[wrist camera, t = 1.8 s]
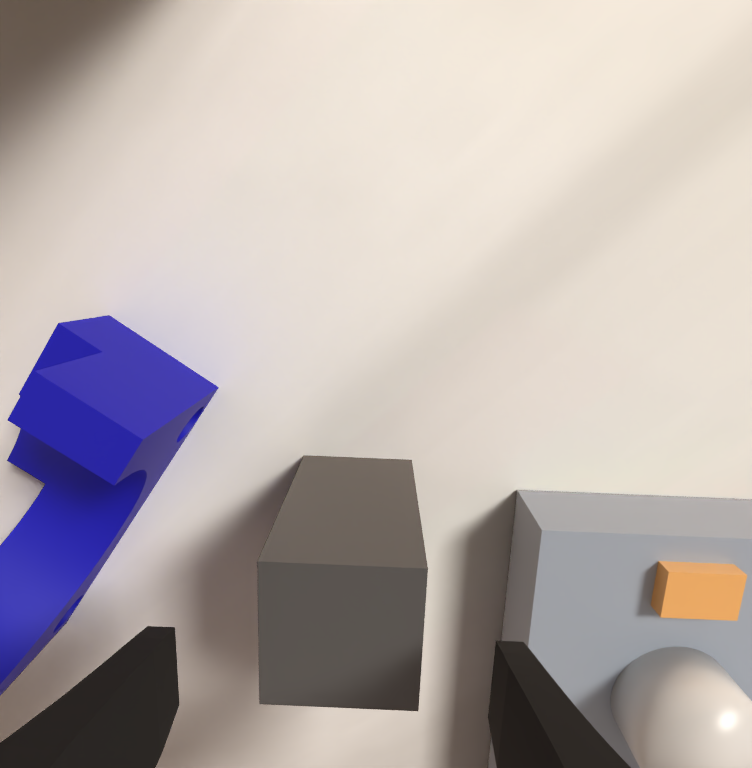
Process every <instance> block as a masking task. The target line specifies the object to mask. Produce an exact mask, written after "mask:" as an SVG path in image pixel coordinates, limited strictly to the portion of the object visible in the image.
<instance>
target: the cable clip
mask: <svg viewBox="0 0 752 768" xmlns="http://www.w3.org/2000/svg"><path fill="white" fill-rule="evenodd" d="M218 388H219V387H217V386H216V385H214V384H213V383H211V382H209V381H208V380H206V379H205V378H203V377H202V376H200V375H199V374H197V373H196V372H194V371H193V370H191V369H190V368H188V367H187V366H185V365H184V364H182V363H181V362H179V361H178V360H176V359H175V358H173V357H172V356H170V355H168V354H167V353H165V352H164V351H162V350H161V349H159V348H158V347H156V346H155V345H153V344H152V343H150V342H149V341H147V340H146V339H144V338H143V337H141V336H140V335H138V334H137V333H135V332H134V331H132V330H131V329H129V328H127V327H126V326H124V325H123V324H121V323H120V322H118V321H117V320H115V319H114V318H112V317H111V316H102V317H96V318H89V319H83V320H76V321H70V322H63V323H58V325H57V327H56V328H55V330H54V332H53V334H52V336H51V337H50V339H49V341H48V343H47V345H46V346H45V348H44V350H43V352H42V354H41V355H40V357H39V359H38V361H37V363H36V364H35V366H34V368H33V370H32V372H31V373H30V375H29V377H28V379H27V381H26V382H25V384H24V386H23V388H22V390H21V391H20V393H19V395H20V399H19V400H18V402H17V404H16V406H15V408H14V409H13V411H12V413H11V415H10V417H9V418H8V421H10V422H12V423H13V424H15V425H16V426H18V427H20V428H21V430H20V433H19V436H18V439H17V441H16V444H15V446H14V448H13V450H12V452H11V454H10V456H9V458H8V460H7V461H9V462H10V463H12V464H14V465H15V466H17V467H19V468H20V469H22V470H24V471H25V472H27V473H29V474H30V475H32V476H34V477H35V478H37V479H39V480H40V481H42V482H44V483H45V486H44V487H43V489H42V490H41V492H40V494H39V495H38V497H37V498H36V500H35V501H34V503H33V504H32V505H31V507H30V508H29V510H28V511H27V512H26V514H25V515H24V516H23V518H22V519H21V521H20V522H19V523H18V524H17V526H16V527H15V528H14V530H13V531H12V532H11V533H10V535H9V536H8V537H7V538H6V539H5V541H4V542H3V543H2V544H1V545H0V695H1V694H2V693H3V692H4V691H5V690H6V689H7V688H8V686H9V685H10V684H11V683H12V682H13V681H14V680H15V679H16V678H17V677H18V675H19V674H20V673H21V672H22V671H23V670H24V669H25V668H26V667H27V666H28V664H29V663H30V662H31V661H32V660H33V659H34V658H35V657H36V656H37V655H38V653H39V652H40V651H41V650H42V649H43V648H44V647H45V646H46V645H47V644H48V642H49V641H50V640H51V639H52V638H53V637H54V636H55V635H56V634H57V632H58V631H59V630H60V629H61V628H62V627H63V626H64V625H65V624H66V622H67V621H68V619H69V618H70V616H71V615H72V613H73V612H74V610H75V608H76V607H77V605H78V604H79V602H80V601H81V599H82V598H83V596H84V595H85V593H86V591H87V590H88V588H89V587H90V585H91V584H92V582H93V581H94V579H95V578H96V576H97V574H98V573H99V571H100V570H101V568H102V567H103V565H104V564H105V562H106V561H107V559H108V557H109V556H110V554H111V553H112V551H113V550H114V548H115V547H116V545H117V544H118V542H119V540H120V539H121V537H122V536H123V534H124V533H125V531H126V530H127V528H128V527H129V525H130V523H131V522H132V520H133V519H134V517H135V516H136V514H137V513H138V511H139V510H140V508H141V506H142V505H143V503H144V502H145V500H146V499H147V497H148V496H149V494H150V493H151V491H152V489H153V488H154V486H155V485H156V483H157V482H158V480H159V479H160V477H161V476H162V474H163V472H164V471H165V469H166V468H167V466H168V465H169V463H170V462H171V460H172V459H173V457H174V456H175V454H176V452H177V451H178V449H179V448H180V446H181V445H182V443H183V442H184V440H185V439H186V437H187V435H188V434H189V432H190V431H191V429H192V428H193V426H194V425H195V423H196V422H197V420H198V418H199V417H200V415H201V414H202V412H203V411H204V409H205V408H206V406H207V405H208V403H209V401H210V400H211V398H212V397H213V395H214V394H215V392H216V391H217V389H218Z"/></svg>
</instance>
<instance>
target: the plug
mask: <svg viewBox="0 0 752 768" xmlns="http://www.w3.org/2000/svg"><path fill="white" fill-rule="evenodd" d="M257 568H258V634H259V700H260V704H271V705H293V706H315V707H338V708H360V709H383V710H405V711H418V706H419V691H420V676H421V661H422V646H423V631H424V617H425V602H426V587H427V572H428V567H427V561H426V554H425V547H424V540H423V534H422V527H421V520H420V513H419V507H418V500H417V493H416V486H415V480H414V473H413V466H412V460H400V459H376V458H352V457H327V456H304V457H303V459H302V461H301V463H300V466H299V468H298V470H297V472H296V475H295V477H294V479H293V482H292V484H291V486H290V488H289V491H288V493H287V495H286V497H285V500H284V502H283V504H282V507H281V509H280V511H279V513H278V516H277V518H276V520H275V522H274V525H273V527H272V529H271V532H270V534H269V536H268V538H267V541H266V543H265V545H264V547H263V550H262V552H261V554H260V557H259V559H258V561H257Z"/></svg>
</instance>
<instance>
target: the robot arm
mask: <svg viewBox="0 0 752 768" xmlns="http://www.w3.org/2000/svg"><path fill="white" fill-rule="evenodd" d="M178 706H179V692H178V675H177V657H176V639H175V627H152V626H148V627H146V628H145V629H144V630H143V631H141V632H140V633H139V634H138V635H136V636H135V637H134V638H133V639H132V640H130V641H129V642H128V643H127V644H126V645H124V646H123V647H122V648H121V649H120V650H118V651H117V652H116V653H115V654H114V655H112V656H111V657H110V658H109V659H108V660H106V661H105V662H104V663H103V664H102V665H100V666H99V667H98V668H97V669H96V670H94V671H93V672H92V673H91V674H89V675H88V676H87V677H86V678H84V679H83V680H82V681H81V682H80V683H78V684H77V685H76V686H75V687H73V688H72V689H71V690H70V691H68V692H67V693H66V694H65V695H63V696H62V697H61V698H60V699H58V700H57V701H56V702H54V703H53V704H52V705H50V706H49V707H48V708H46V709H45V710H44V711H42V712H41V713H40V714H38V715H37V716H36V717H34V718H33V719H32V720H30V721H29V722H28V723H26V724H25V725H24V726H22V727H21V728H20V729H18V730H17V731H16V732H15V733H13V734H12V735H10V736H9V737H8V738H6V739H5V740H3V741H2V742H1V743H0V768H155V767H156V765H157V763H158V760H159V758H160V756H161V754H162V751H163V748H164V746H165V743H166V740H167V738H168V735H169V732H170V729H171V726H172V724H173V721H174V718H175V715H176V712H177V709H178ZM488 719H489V725H490V731H491V737H492V744H493V749H494V755H495V761H496V766H497V768H631V767H630V766H629V765H628V764H627V763H626V762H625V761H624V760H623V759H622V758H621V757H620V755H619V754H618V753H617V752H616V751H615V750H614V749H613V748H612V747H611V746H610V745H609V744H608V743H607V741H606V740H605V739H604V738H603V737H602V736H601V735H600V734H599V733H598V731H597V730H596V729H595V728H594V727H593V726H592V725H591V723H590V722H589V721H588V720H587V719H586V718H585V716H584V715H583V714H582V713H581V712H580V711H579V709H578V708H577V707H576V706H575V705H574V704H573V702H572V701H571V700H570V699H569V698H568V696H567V695H566V694H565V693H564V692H563V690H562V689H561V688H560V687H559V685H558V684H557V683H556V682H555V680H554V679H553V678H552V677H551V675H550V674H549V673H548V672H547V670H546V669H545V668H544V667H543V665H542V664H541V663H540V662H539V660H538V659H537V658H536V656H535V655H534V654H533V653H532V651H531V650H530V649H529V648H528V646H527V645H526V644H525V643H524V642H518V641H496V647H495V656H494V666H493V676H492V685H491V695H490V705H489V714H488Z"/></svg>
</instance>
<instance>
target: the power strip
mask: <svg viewBox="0 0 752 768" xmlns="http://www.w3.org/2000/svg"><path fill="white" fill-rule="evenodd" d="M501 641H518V642H524V643H525V644H526V645H527V646H528V648H529V649H530V650H531V651H532V653H533V654H534V655H535V656H536V658H537V659H538V660H539V662H540V663H541V664H542V665H543V667H544V668H545V669H546V670H547V672H548V673H549V674H550V675H551V677H552V678H553V679H554V680H555V682H556V683H557V684H558V685H559V687H560V688H561V689H562V690H563V692H564V693H565V694H566V695H567V696H568V698H569V699H570V700H571V701H572V702H573V704H574V705H575V706H576V707H577V708H578V709H579V711H580V712H581V713H582V714H583V715H584V716H585V718H586V719H587V720H588V721H589V722H590V723H591V725H592V726H593V727H594V728H595V729H596V730H597V731H598V733H599V734H600V735H601V736H602V737H603V738H604V739H605V740H606V741H607V743H608V744H609V745H610V746H611V747H612V748H613V749H614V750H615V751H616V752H617V753H618V754H619V755H620V757H621V758H622V759H623V760H624V761H625V762H626V763H627V764H628V765H629V766H630V767H631V768H752V500H747V499H722V498H698V497H674V496H650V495H625V494H601V493H577V492H553V491H528V490H517V497H516V506H515V515H514V525H513V534H512V544H511V553H510V563H509V572H508V582H507V591H506V601H505V610H504V620H503V629H502V638H501ZM488 768H497V766H496V761H495V755H494V749H493V744H492V737H491V743H490V752H489V761H488Z"/></svg>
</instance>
